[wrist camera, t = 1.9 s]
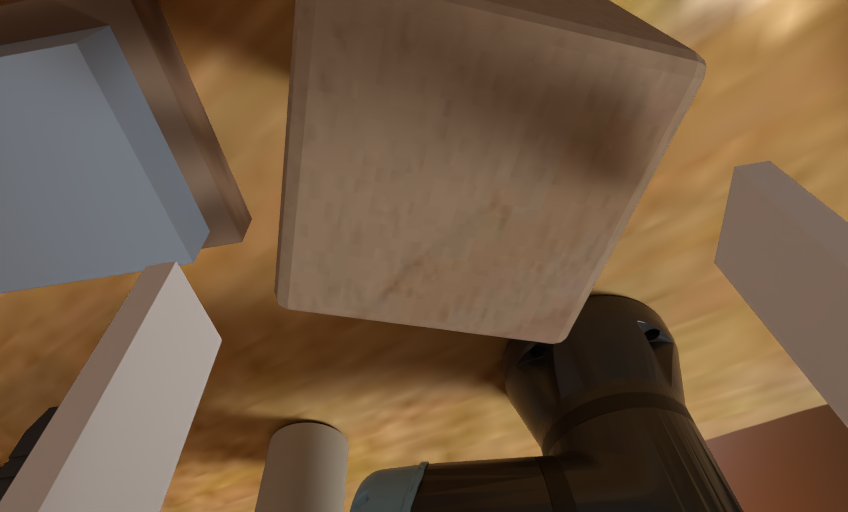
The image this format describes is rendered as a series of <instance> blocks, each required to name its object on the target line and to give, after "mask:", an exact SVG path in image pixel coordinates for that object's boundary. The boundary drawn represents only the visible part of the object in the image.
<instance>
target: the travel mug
mask: <svg viewBox="0 0 848 512" xmlns="http://www.w3.org/2000/svg"><path fill="white" fill-rule="evenodd" d="M348 449H349V445H348V442H347V440H346V438H345V437H344V436H343V435H342V434H341V433H340V432H339V431H337V430H336V429H334V428H331V427H329V426H326V425H322V424H317V423H296V424H292V425H288V426H285V427H283V428H281V429H279V430H278V431H277V432H276V433H274V435H273V436H272V437H271V440H270V444H269V448H268V453H267V458H266V462H265V467H264V471H263V476H262V480H261V485H260V489H259V494H258V499H257V503H256V508H255V512H343V511H344V499H345V487H346V474H347V462H348Z"/></svg>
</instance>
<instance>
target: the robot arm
mask: <svg viewBox="0 0 848 512" xmlns="http://www.w3.org/2000/svg"><path fill="white" fill-rule="evenodd" d="M714 263H715V264H716V265H717V266H718V268H719V269H720V270H721V271H722V273H723V274H724V275H725V276H726V277H727V279H728V280H729V281H730V282H731V284H732V285H733V286H734V287H735V289H736V290H737V291H738V292H739V294H740V295H741V296H742V297H743V299H744V300H745V301H746V302H747V304H748V305H749V306H750V307H751V309H752V310H753V311H754V312H755V313H756V315H757V316H758V317H759V318H760V320H761V321H762V322H763V323H764V325H765V326H766V327H767V328H768V330H769V331H770V332H771V333H772V335H773V336H774V337H775V338H776V340H777V341H778V342H779V343H780V345H781V346H782V347H783V348H784V349H785V351H786V352H787V353H788V354H789V356H790V357H791V358H792V359H793V361H794V362H795V363H796V364H797V366H798V367H799V368H800V369H801V371H802V372H803V373H804V374H805V376H806V377H807V378H808V379H809V381H810V382H811V383H812V384H813V385H814V387H815V388H816V389H817V390H818V392H819V393H820V394H821V395H822V397H823V398H824V399H825V400H826V402H827V403H828V404H829V405H830V407H831V408H832V409H833V410H834V411H835V413H836V414H837V415H838V416H839V418H840V419H841V420H842V421H843V423H844V424H845V425H846V426H847V427H848V222H847V221H845V220H844V219H843V218H841V217H840V216H839V215H838V214H836V213H835V212H834V211H833V210H831V209H830V208H829V207H827V206H826V205H825V204H824V203H822V202H821V201H820V200H819V199H817V198H816V197H815V196H814V195H812V194H811V193H810V192H808V191H807V190H806V189H805V188H803V187H802V186H801V185H800V184H798V183H797V182H796V181H794V180H793V179H792V178H791V177H789V176H788V175H787V174H786V173H784V172H783V171H782V170H780V169H779V168H778V167H777V166H775V165H774V164H773V163H772V162H770V161H766V162H760V163H754V164H749V165H743V166H737V167H734V172H733V176H732V181H731V186H730V191H729V195H728V200H727V205H726V210H725V214H724V219H723V224H722V228H721V233H720V238H719V243H718V247H717V252H716V257H715V261H714ZM221 341H222V339H221V337H220V335H219V334H218V332H217V330H216V329H215V327H214V325H213V323H212V322H211V320H210V318H209V316H208V315H207V313H206V311H205V310H204V308H203V306H202V304H201V303H200V301H199V299H198V298H197V296H196V294H195V292H194V291H193V289H192V287H191V285H190V284H189V282H188V280H187V279H186V277H185V275H184V273H183V272H182V270H181V268H180V267H179V265H178V263H177V261H174V262H168V263H162V264H156V265H150V266H146V267H145V269H144V270H143V272H142V274H141V275H140V277H139V278H138V280H137V282H136V283H135V285H134V286H133V288H132V290H131V291H130V293H129V295H128V296H127V298H126V299H125V301H124V303H123V304H122V306H121V307H120V309H119V311H118V312H117V314H116V316H115V317H114V319H113V320H112V322H111V324H110V325H109V327H108V328H107V330H106V332H105V333H104V335H103V336H102V338H101V340H100V341H99V343H98V345H97V346H96V348H95V349H94V351H93V353H92V354H91V356H90V357H89V359H88V361H87V362H86V364H85V366H84V367H83V369H82V370H81V372H80V374H79V375H78V377H77V378H76V380H75V382H74V383H73V385H72V387H71V388H70V390H69V391H68V393H67V395H66V396H65V398H64V399H63V401H62V403H61V404H60V406H58V407H52V408H49V409H48V410H47V411H46V412H45V413H44V414H43V415H42V416H41V417H40V418H39V419H38V420H37V421H36V422H35V423H34V424H33V425H32V426H31V427H30V428H29V429H28V430H27V431H26V432H25V433H24V435H23V436H22V438H21V439H20V441H19V442H18V444H17V445H16V447H15V448H14V450H13V452H12V453H11V455H10V456H9V462H7V463H5V464H4V465H3V467H2V468H1V470H0V512H160V510H161V507H162V504H163V501H164V498H165V496H166V493H167V490H168V487H169V485H170V482H171V479H172V476H173V474H174V471H175V468H176V465H177V463H178V460H179V457H180V454H181V452H182V449H183V446H184V443H185V441H186V438H187V435H188V432H189V430H190V427H191V424H192V421H193V419H194V416H195V413H196V410H197V408H198V405H199V402H200V399H201V397H202V394H203V391H204V388H205V386H206V383H207V380H208V377H209V375H210V372H211V369H212V366H213V364H214V361H215V358H216V355H217V352H218V350H219V347H220V344H221ZM502 373H503V378H504V382H505V387H506V391H507V394H508V397H509V399H510V401H511V403H512V405H513V406H514V408H515V409H516V411H517V412H518V414H519V415H520V417H521V418H522V420H523V421H524V423H525V425H526V426H527V428H528V429H529V431H530V432H531V434H532V435H533V437H534V438H535V440H536V441H537V443H538V444H539V446H540V447H541V450H542V453H543V456H538V457H519V458H505V459H491V460H476V461H462V462H448V463H434V464H429V462H428V461H427V462H421V463H420V464H419V465H414V466H406V467H398V468H390V469H382V470H378V471H376V472H373V473H372V474H370V475H369V476H368V477H366V478H365V480H364V481H363V482H362V483H361V485H360V486H359V488H358V490H357V492H356V494H355V497H354V499H353V502H352V506H351V509H350V512H744V511H743V509H742V507H741V506H740V504H739V502H738V500H737V498H736V496H735V495H734V493H733V491H732V489H731V488H730V486H729V484H728V482H727V480H726V478H725V477H724V475H723V473H722V471H721V470H720V468H719V466H718V464H717V462H716V460H715V459H714V457H713V455H712V453H711V451H710V450H709V448H708V446H707V444H706V443H705V441H704V439H703V437H702V435H701V433H700V432H699V430H698V428H697V426H696V425H695V423H694V421H693V419H692V417H691V415H690V414H689V412H688V410H687V408H686V405H685V399H684V391H683V384H682V377H681V370H680V362H679V355H678V350H677V346H676V344H675V341H674V339H673V337H672V335H671V333H670V332H669V330H668V328H667V327H666V325H665V323H664V322H663V320H662V319H661V317H660V316H659V315H658V314H657V313H656V312H655V311H654V310H652V309H651V308H649V307H648V306H646V305H644V304H642V303H640V302H637V301H635V300H632V299H628V298H623V297H616V296H592V297H588V298H587V300H586V302H585V304H584V306H583V308H582V309H581V311H580V313H579V315H578V317H577V319H576V321H575V323H574V324H573V326H572V328H571V330H570V332H569V334H568V336H567V338H566V339H564V340H563V341H562V342H560V343H555V344H550V343H542V342H535V341H527V340H519V339H511V340H510V342H509V344H508V345H507V348H506V350H505V352H504V355H503V360H502Z"/></svg>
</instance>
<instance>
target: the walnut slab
mask: <svg viewBox="0 0 848 512" xmlns="http://www.w3.org/2000/svg"><path fill="white" fill-rule="evenodd" d="M107 25H110V27H111V29H112V31H113V34H114V36H115V38H116V40H117V42H118V44H119V46H120V48H121V50H122V52H123V54H124V56H125V58H126V60H127V62H128V64H129V66H130V68H131V70H132V72H133V75H134V77H135V79H136V81H137V83H138V85H139V87H140V89H141V91H142V93H143V95H144V97H145V99H146V101H147V103H148V105H149V107H150V109H151V111H152V113H153V116H154V118H155V120H156V122H157V124H158V126H159V128H160V130H161V132H162V134H163V136H164V138H165V140H166V142H167V144H168V146H169V148H170V150H171V152H172V154H173V157H174V159H175V161H176V163H177V165H178V167H179V169H180V171H181V173H182V175H183V177H184V179H185V181H186V183H187V185H188V187H189V189H190V191H191V193H192V196H193V198H194V200H195V202H196V204H197V206H198V208H199V210H200V212H201V214H202V216H203V218H204V220H205V222H206V224H207V226H208V228H209V230H210V232H209V234H208V236H207V238H206V240H205V242H204V244H203V246H202V248H201V249H203V248H209V247H215V246H221V245H227V244H233V243H239V242H242V241H243V239H244V236H245V234H246V232H247V229H248V227H249V224H250V222H251V220H252V218H251V216H250V214H249V211H248V209H247V207H246V205H245V202H244V200H243V198H242V195H241V193H240V191H239V188H238V186H237V184H236V181H235V179H234V177H233V175H232V172H231V170H230V168H229V165H228V163H227V161H226V158H225V156H224V154H223V152H222V149H221V147H220V145H219V142H218V140H217V138H216V135H215V133H214V131H213V129H212V126H211V124H210V122H209V119H208V117H207V115H206V112H205V110H204V108H203V105H202V103H201V101H200V99H199V96H198V94H197V92H196V89H195V87H194V85H193V82H192V80H191V78H190V76H189V73H188V71H187V69H186V66H185V64H184V62H183V59H182V57H181V55H180V52H179V50H178V48H177V46H176V43H175V41H174V39H173V36H172V34H171V32H170V29H169V27H168V25H167V23H166V20H165V18H164V16H163V13H162V11H161V9H160V6H159V4H158V2H157V0H6V1H2V2H0V45H5V44H11V43H16V42H21V41H27V40H32V39H38V38H43V37H48V36H54V35H59V34H64V33H70V32H75V31H81V30H86V29H91V28H97V27H102V26H107Z"/></svg>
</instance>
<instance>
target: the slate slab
mask: <svg viewBox="0 0 848 512" xmlns="http://www.w3.org/2000/svg"><path fill="white" fill-rule="evenodd" d="M209 232H210V230H209V228H208V226H207V224H206V222H205V220H204V218H203V216H202V214H201V212H200V210H199V208H198V206H197V204H196V202H195V200H194V198H193V196H192V193H191V191H190V189H189V187H188V185H187V183H186V181H185V179H184V177H183V175H182V173H181V171H180V169H179V167H178V165H177V163H176V161H175V159H174V157H173V154H172V152H171V150H170V148H169V146H168V144H167V142H166V140H165V138H164V136H163V134H162V132H161V130H160V128H159V126H158V124H157V122H156V120H155V118H154V116H153V113H152V111H151V109H150V107H149V105H148V103H147V101H146V99H145V97H144V95H143V93H142V91H141V89H140V87H139V85H138V83H137V81H136V79H135V77H134V75H133V72H132V70H131V68H130V66H129V64H128V62H127V60H126V58H125V56H124V54H123V52H122V50H121V48H120V46H119V44H118V42H117V40H116V38H115V36H114V34H113V31H112V29H111V27H110V25H107V26H102V27H97V28H91V29H86V30H81V31H75V32H70V33H64V34H59V35H54V36H48V37H43V38H38V39H32V40H27V41H21V42H16V43H11V44H5V45H0V293H6V292H13V291H19V290H26V289H32V288H38V287H45V286H51V285H57V284H64V283H70V282H77V281H83V280H89V279H96V278H102V277H108V276H115V275H121V274H128V273H134V272H140V271H143V270H144V269H145V267H146V266H150V265H156V264H162V263H168V262H174V261H177V263H178V265H185V264H191V263H194V261H195V259H196V257H197V255H198V254H199V252H200V250H201V248H202V246H203V244H204V242H205V240H206V238H207V236H208V234H209Z"/></svg>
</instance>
